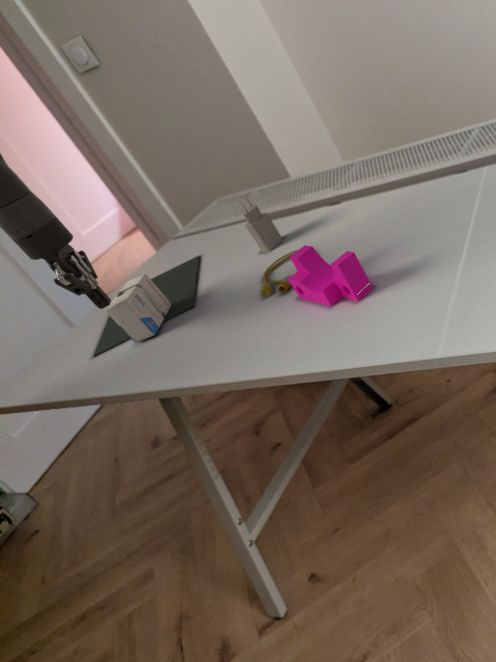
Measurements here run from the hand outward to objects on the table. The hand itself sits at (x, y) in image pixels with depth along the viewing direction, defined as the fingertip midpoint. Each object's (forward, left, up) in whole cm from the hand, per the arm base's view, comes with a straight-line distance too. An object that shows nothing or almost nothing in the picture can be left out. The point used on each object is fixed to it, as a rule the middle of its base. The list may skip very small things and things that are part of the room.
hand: (106, 305), depth 102 cm
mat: (+17, +10, -10) cm, 22 cm away
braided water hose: (+14, -28, -10) cm, 33 cm away
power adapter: (+30, -17, -10) cm, 36 cm away
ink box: (0, -1, -5) cm, 5 cm away
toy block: (+2, -44, -10) cm, 45 cm away
